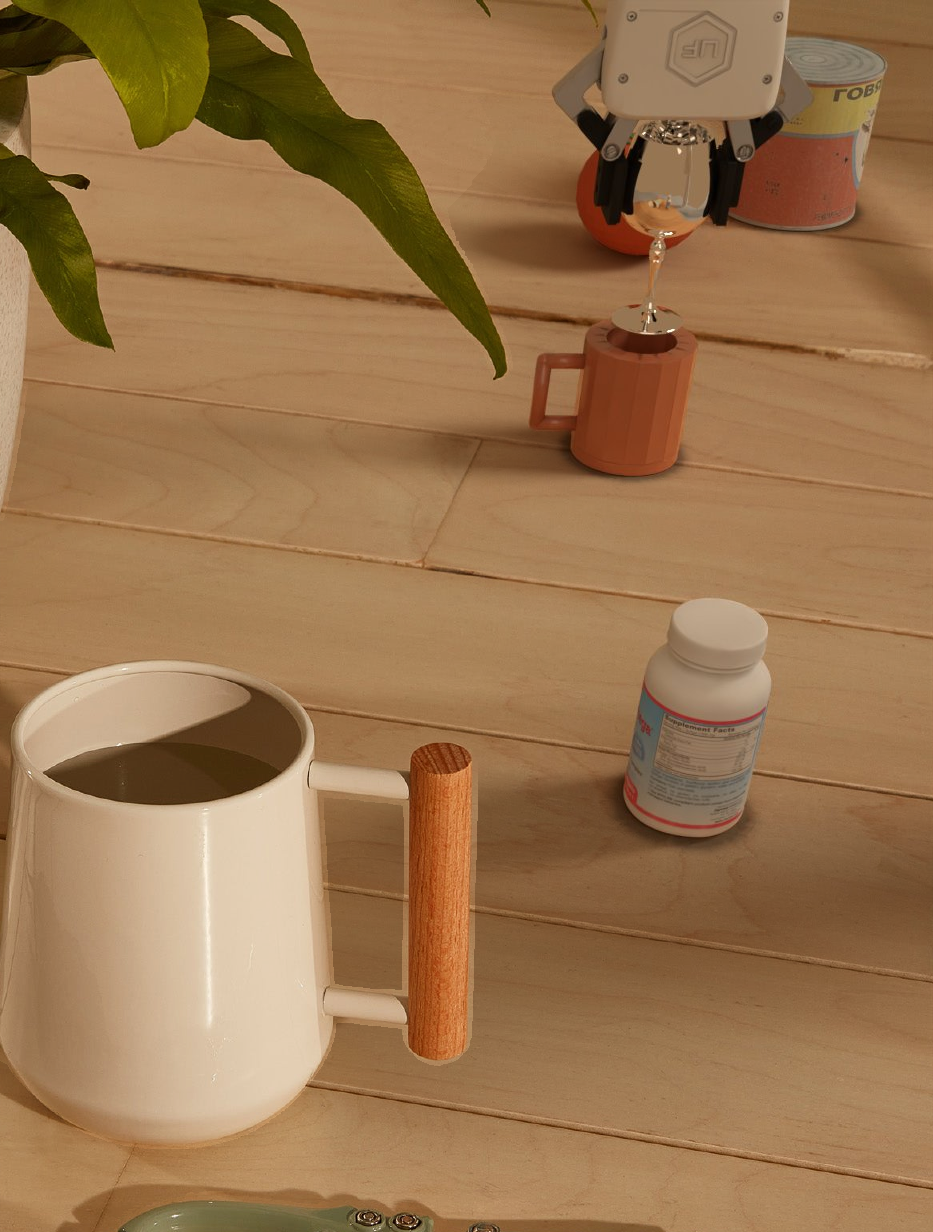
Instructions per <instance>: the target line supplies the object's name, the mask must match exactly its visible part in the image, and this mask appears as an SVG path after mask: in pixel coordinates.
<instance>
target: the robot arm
mask: <svg viewBox="0 0 933 1232" xmlns="http://www.w3.org/2000/svg"><path fill="white" fill-rule="evenodd" d="M789 11H790V0H608V3H607V7H606V12H605V17H604V20H603V21H604V22H603V25H602V29H601V36H600V40H599V43H598V44H597V45H596V46H595V47H594V48H593V49H591V51H589V52H588V53H587V54H586V55H585V56H584V57H583V58H582V59H581V60H579V62H577V64H575V65H574V66H573V67H572V68H571V69H570V70H569V71H567V73H566V74H565V75H564V76H562V78H561V79H559V81H557V82H556V83H555V84H554V85H553V87H552V89H551V95H552V98H553V101H554V102H555V104H556V105H557V106H558V108H559V109H561V111H562V112H563V113H564V114H565V115H566V116H567V117H568V118H569V119H570V120H571V121H572V122H573V123H574V124H575V125H576V126H577V128H578V129H579V130H580V132H581V133H582V134H583V135H584V136H585V137H586V139H587V140H588V141H589V142H590V143H591V144H592V145H593V147H594V148H595V150H598V151H599V159H598V166H597V173H596V181H595V188H594V204H595V206H596V207H601V210H602V213H603V215H604V218H605V220H606V223H607V225H617V223H620V219H621V213H622V206H623V199H624V192H625V186H626V179H627V172H628V162H627V159H626V157H625V155H624V154H625V146H626V144H627V142H628V140H629V138H630V136H631V134H632V133H634V131H635V129H636V127H637V126H638V123H639V122H640V121H656V120H683V121H722V122H721V123H722V127H723V133H724V135H725V137H724V139H722V143H721V144H718V146H717V185H716V193H715V198H714V201H713V204H712V207H711V210H710V212H709V214H708V216H709V218H710V220H711V222H712V224H713V225H715V226H716V227H726V226H727V224H728V218H729V215H728V213H729V208H736V207H737V206H738V202H739V197H740V191H741V186H742V180H743V175H744V169H745V164H746V162H747V161H749V160H750V159H752V158H753V156H754V154H755V151H756V150H757V149H758V148H759V147H760V146H762V145H763V144H764V143H765V142H767V141H768V140H769V139H770V138H771V137H773V136H774V135H775V134H776V133H777V132H779V131H780V130H781V128H782V126H783V125H784V124H785V123H786V122H788V121H790V120H792V119H793V118H794V117H795V116H797V115H798V114H799V113H801V112H802V111H803V110H804V109H806V108H807V107H808V106H809V105H811V104H812V102H813V100H814V94H813V92H812V91H811V89H810V88H809V86H808V85H807V84H806V82H805V81H804V80H803V78H802V77H801V76H800V74H799V73H798V72H797V70H796V69H795V68H794V66H793V65H792V64H791V62H790V61H789V59H788V58H787V57H786V55H785V54H784V49H785V40H786V37H787V31H788V23H789V21H788V20H789ZM594 84H596V87H597V89H598V90H599V92H600V95H601V100H602V103H603V105H604V106H605V108H606V112H605V114H604V116H603V117H602V115H600V114H599V113H598V111H597V109H595V108H594V106H592V104H590V103H589V102H588V101H587V100H586V99H585V98H584V94H585V93H586V92H587V91H588V90H589V89H590V88H591V87H592V86H593V85H594ZM779 86H780V87H781V92H780V95H779V96H778V97H777V94H778V90H779Z"/></svg>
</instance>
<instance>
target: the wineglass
mask: <svg viewBox="0 0 933 1232" xmlns="http://www.w3.org/2000/svg"><path fill="white" fill-rule="evenodd" d="M635 132H636V133H635ZM635 132H634V133H635V135H634V137H633V139H632V142H631V144H630V147H629V150H628V153H627V156H626V159H627V162H628V172H627V179H626V186H625V192H624V199H623V206H622V215H623V217H624V219H625V220H626V222H627V223H628V224H629V225H630V226H632V227H633V228H634V229H636V230H637V231H639V232H641V233H643V234H646V235H648V236H652V237H655V240H654V241H653V242H652V244H651V246H650V249H649V254H648V256H649V257H648V259H649V279H648V285H647V289H646V295H645V299H644V300H643V302H642V303H641V304H639V303H638V304H636V303H635V304H628V305H624V306H621V307H618V308H616V309H615V310H613V312H612V313H611V315H610V318H611V320H612V322H613V323H614V324H615V325H616V326H618V327H619V328H621V329H623V330H626V331H629V332H633V333H638V334H645V335H660V334H667V333H671V332H674V331H676V330H678V329H679V328H680V327H681V326H682V327H683V318H682V317H681V315H680V314H679V313H677V312H676V311H674V310H672V309H670V308H667V307H664V306H660V305H656V301H655V294H656V285H657V279H658V278H657V277H658V275H659V271H660V268H661V265H662V262H663V261H664V258H665V255H666V250H665V248H666V245H665V242H664V238H672V237H677V236H680V235H684V234H686V233H688V232H690V231H692V230H694V229H695V230H696V229H697V228H699V226H700V225H702V224H703V223H704V221H705V220H706V219H707V217H708V216H709V212H710V210H711V207H712V204H713V201H714V198H715V193H716V185H717V149H718V147H717V136H716V133H715V131H714V130H713V129H711V128H710V127H708V126H706V125H703V124H701V123H697V122H694V121H691V120H649V121H648V122H647V121H646V122H644V123H642V124H640V125H639V126H637V128H636V131H635ZM695 230H694V231H695Z"/></svg>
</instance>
